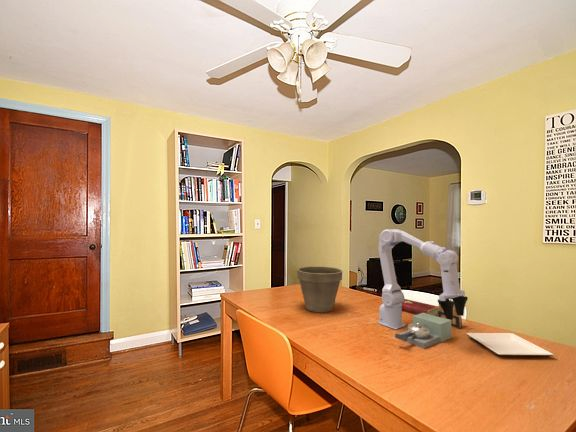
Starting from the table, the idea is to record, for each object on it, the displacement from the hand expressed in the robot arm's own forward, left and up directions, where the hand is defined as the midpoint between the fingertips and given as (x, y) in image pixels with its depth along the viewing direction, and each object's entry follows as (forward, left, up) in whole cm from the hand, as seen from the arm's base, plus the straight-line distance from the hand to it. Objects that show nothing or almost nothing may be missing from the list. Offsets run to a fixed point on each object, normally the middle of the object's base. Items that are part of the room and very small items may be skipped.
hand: (455, 317), depth 108 cm
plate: (+12, +13, -11) cm, 21 cm away
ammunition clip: (-12, +20, -11) cm, 26 cm away
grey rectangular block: (-10, -4, -10) cm, 15 cm away
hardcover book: (-33, +26, -11) cm, 44 cm away
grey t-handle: (-10, -12, -8) cm, 18 cm away
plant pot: (-65, -13, -11) cm, 67 cm away
